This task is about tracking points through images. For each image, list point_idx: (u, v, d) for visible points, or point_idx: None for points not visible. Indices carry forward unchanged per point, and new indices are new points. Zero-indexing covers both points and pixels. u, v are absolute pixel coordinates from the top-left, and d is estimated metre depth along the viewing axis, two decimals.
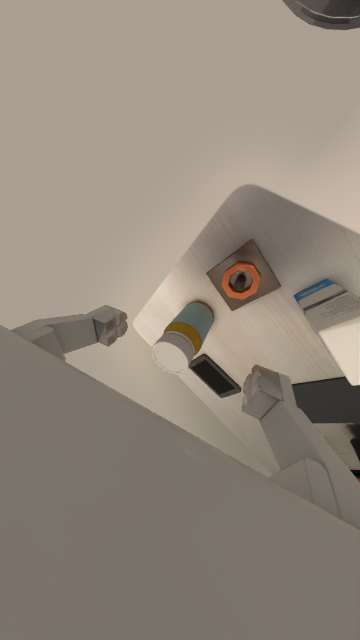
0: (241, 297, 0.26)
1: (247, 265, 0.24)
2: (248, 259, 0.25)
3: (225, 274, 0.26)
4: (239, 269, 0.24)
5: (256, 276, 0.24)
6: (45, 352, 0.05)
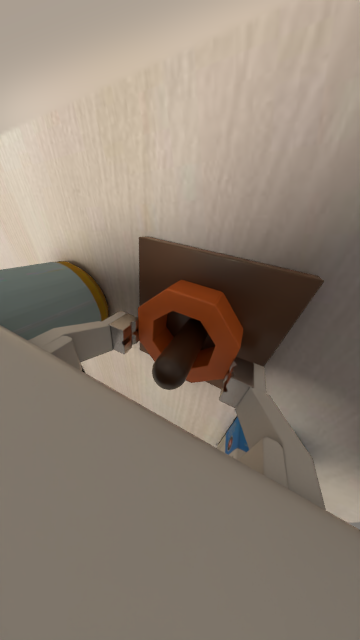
0: None
1: (230, 334, 0.07)
2: (252, 313, 0.08)
3: (165, 296, 0.07)
4: (204, 322, 0.07)
5: (220, 368, 0.08)
6: (45, 352, 0.05)
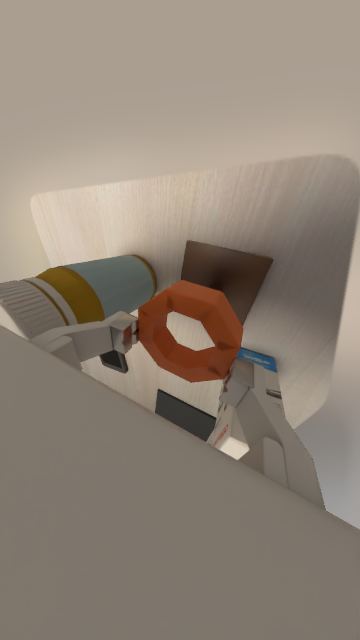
0: (159, 362, 0.10)
1: (229, 334, 0.07)
2: (244, 277, 0.16)
3: (165, 296, 0.07)
4: (204, 322, 0.07)
5: (220, 368, 0.08)
6: (45, 352, 0.05)
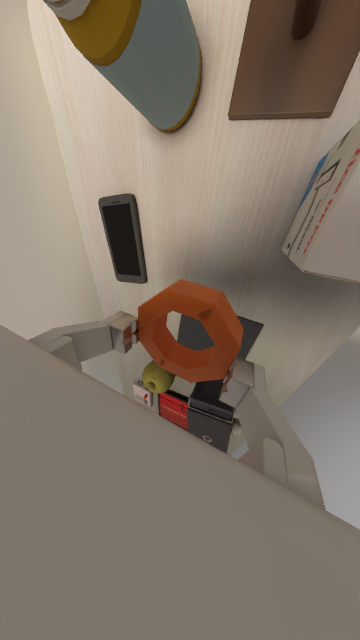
0: (159, 362, 0.10)
1: (230, 333, 0.07)
2: None
3: (164, 296, 0.07)
4: (204, 321, 0.07)
5: (220, 368, 0.08)
6: (45, 352, 0.05)
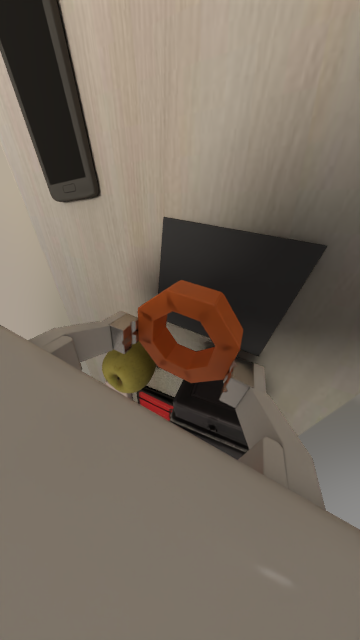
0: (159, 363, 0.10)
1: (229, 334, 0.07)
2: None
3: (164, 296, 0.07)
4: (204, 322, 0.07)
5: (220, 368, 0.08)
6: (45, 352, 0.05)
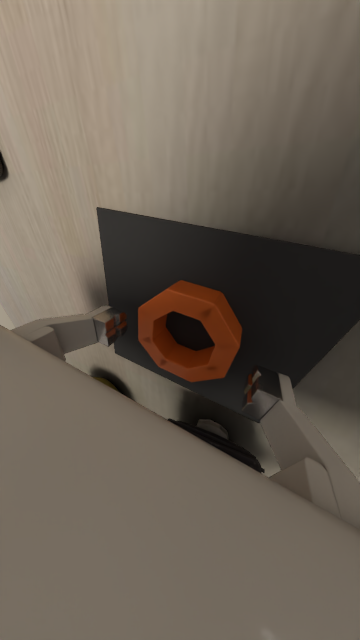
0: (159, 363, 0.10)
1: (229, 333, 0.07)
2: None
3: (165, 296, 0.07)
4: (204, 321, 0.07)
5: (220, 367, 0.08)
6: (45, 352, 0.05)
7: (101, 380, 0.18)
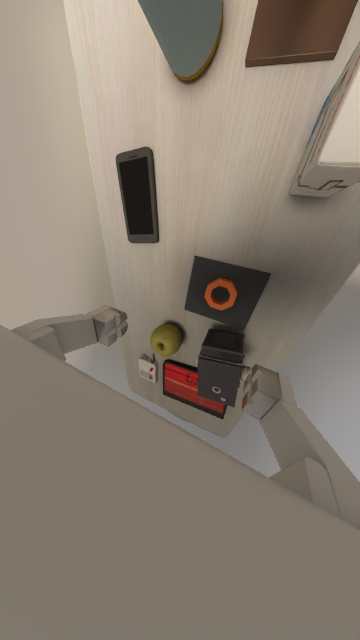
0: (210, 304, 0.31)
1: (234, 290, 0.28)
2: None
3: (217, 281, 0.28)
4: (228, 288, 0.28)
5: (231, 302, 0.29)
6: (45, 352, 0.05)
7: (173, 325, 0.39)
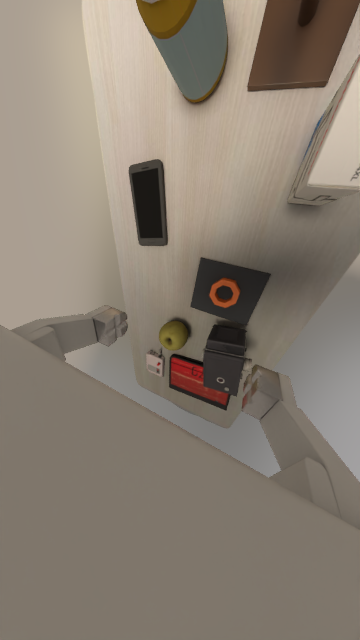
0: (215, 302, 0.34)
1: (237, 289, 0.30)
2: None
3: (221, 281, 0.31)
4: (231, 287, 0.31)
5: (234, 300, 0.32)
6: (45, 352, 0.05)
7: None
